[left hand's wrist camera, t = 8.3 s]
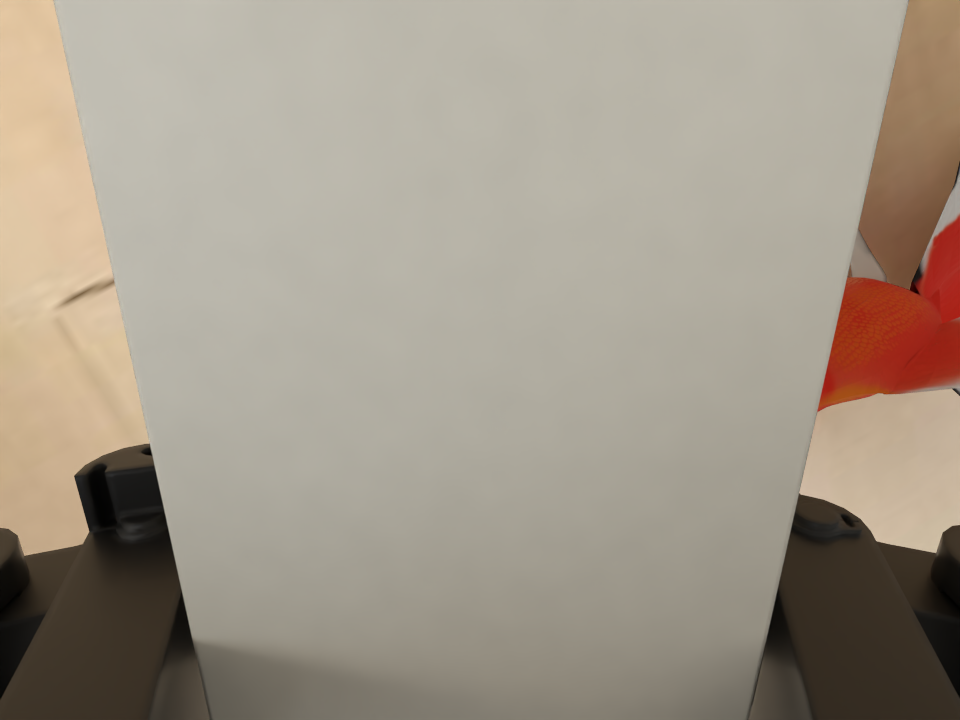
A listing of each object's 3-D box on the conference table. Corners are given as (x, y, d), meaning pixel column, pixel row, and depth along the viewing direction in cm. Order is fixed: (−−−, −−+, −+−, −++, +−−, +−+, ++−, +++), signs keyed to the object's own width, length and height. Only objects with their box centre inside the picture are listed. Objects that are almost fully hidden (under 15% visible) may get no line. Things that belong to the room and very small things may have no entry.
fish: (658, 165, 20) (984, 292, 13) (951, 49, 25) (1309, 94, 17) (646, 399, 27) (855, 566, 20) (877, 272, 31) (1114, 370, 24)
